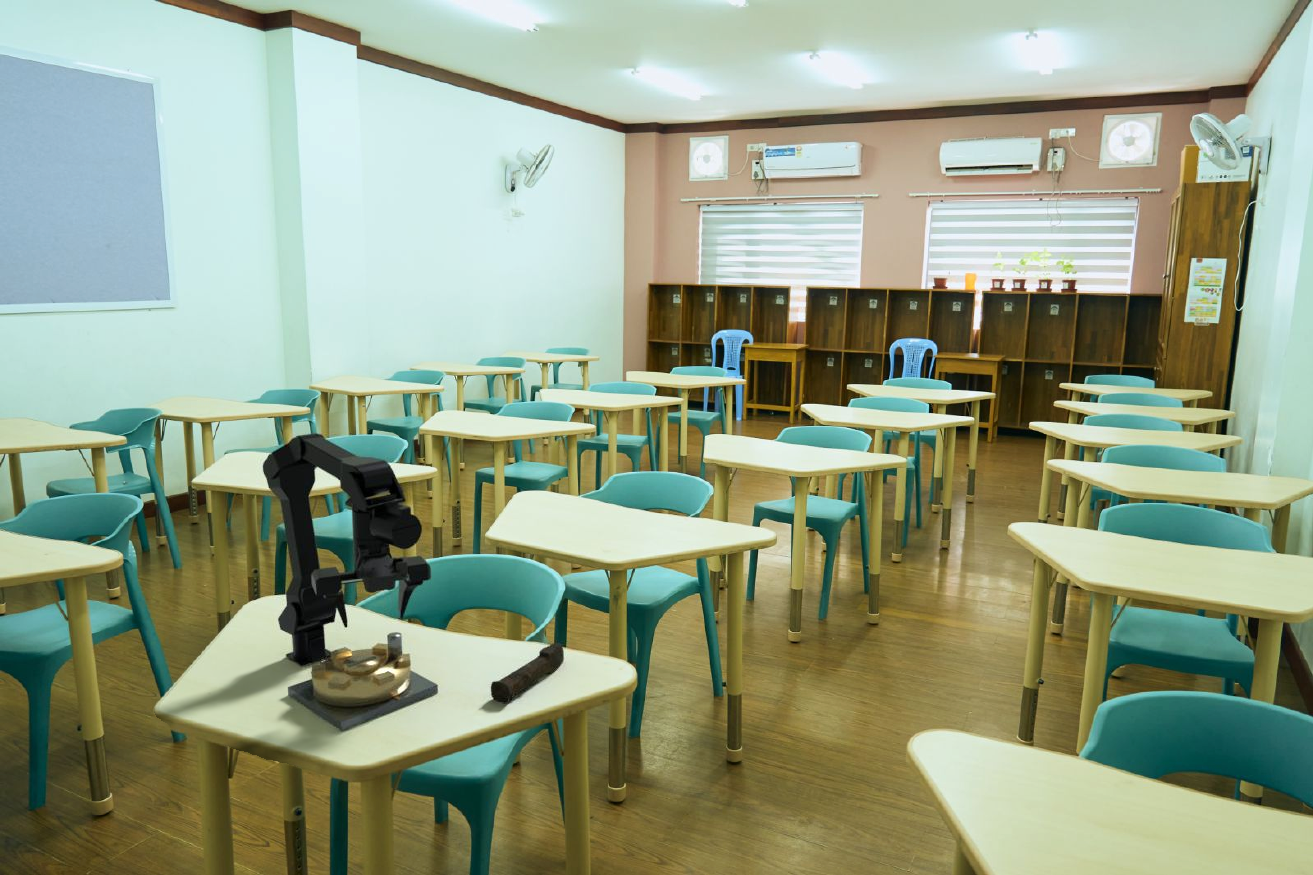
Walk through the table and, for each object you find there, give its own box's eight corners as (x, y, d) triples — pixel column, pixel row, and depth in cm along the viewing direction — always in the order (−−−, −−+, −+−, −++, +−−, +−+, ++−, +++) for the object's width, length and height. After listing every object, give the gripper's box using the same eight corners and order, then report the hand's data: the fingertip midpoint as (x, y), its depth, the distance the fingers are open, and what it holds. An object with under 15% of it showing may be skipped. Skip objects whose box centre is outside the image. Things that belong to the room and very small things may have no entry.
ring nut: (343, 716, 142) (341, 675, 140) (295, 685, 152) (293, 647, 151) (429, 683, 153) (427, 645, 152) (379, 656, 164) (377, 620, 163)
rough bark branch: (507, 707, 149) (507, 681, 149) (489, 701, 151) (489, 675, 151) (575, 666, 165) (575, 643, 164) (558, 661, 167) (557, 638, 167)
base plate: (288, 695, 152) (287, 686, 152) (381, 662, 166) (381, 653, 165) (341, 731, 141) (341, 721, 140) (437, 692, 154) (437, 683, 153)
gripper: (319, 557, 137) (323, 650, 141) (438, 542, 146) (440, 630, 150) (309, 536, 147) (313, 624, 150) (421, 523, 156) (423, 607, 159)
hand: (373, 622), depth 152 cm, fingers open, 9 cm apart
